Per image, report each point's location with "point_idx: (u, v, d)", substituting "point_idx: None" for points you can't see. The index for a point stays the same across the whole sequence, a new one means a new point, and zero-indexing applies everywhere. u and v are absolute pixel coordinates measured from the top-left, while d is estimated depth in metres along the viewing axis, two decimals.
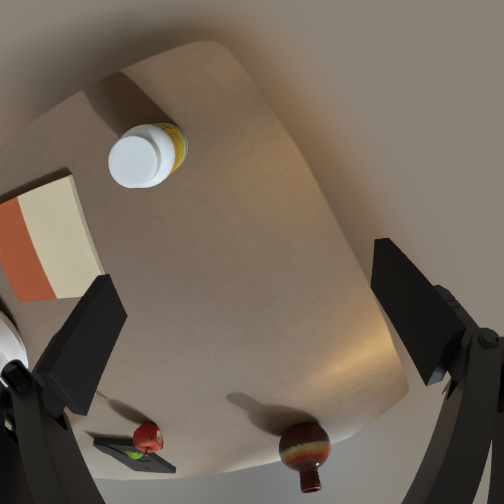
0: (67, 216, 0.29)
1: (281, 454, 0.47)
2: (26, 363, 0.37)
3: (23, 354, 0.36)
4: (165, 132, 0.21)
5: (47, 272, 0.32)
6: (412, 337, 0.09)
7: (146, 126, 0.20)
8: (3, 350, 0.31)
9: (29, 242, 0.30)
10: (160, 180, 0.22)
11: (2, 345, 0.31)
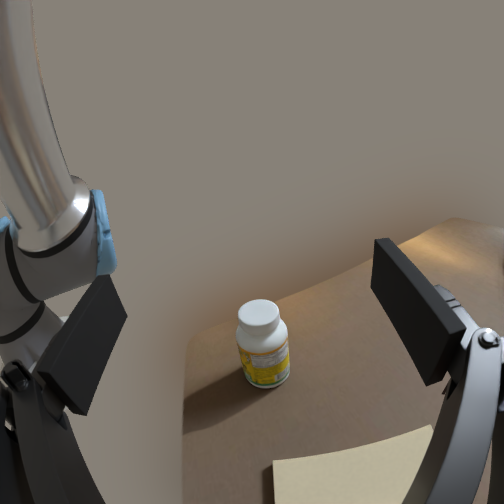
0: (325, 471, 0.19)
1: None
2: None
3: None
4: None
5: None
6: (412, 337, 0.09)
7: (238, 326, 0.29)
8: None
9: None
10: None
11: None
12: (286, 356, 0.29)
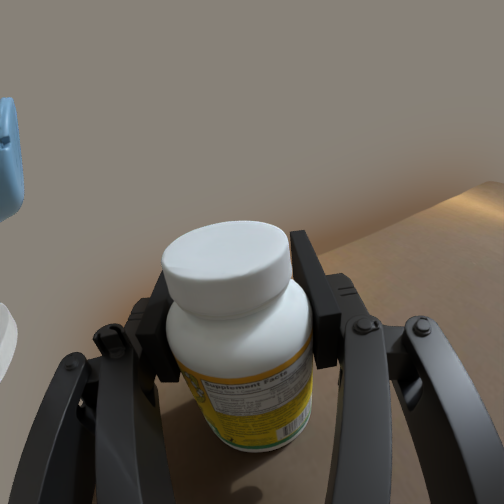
0: None
1: None
2: None
3: None
4: None
5: None
6: None
7: None
8: None
9: None
10: None
11: None
12: (308, 381, 0.10)
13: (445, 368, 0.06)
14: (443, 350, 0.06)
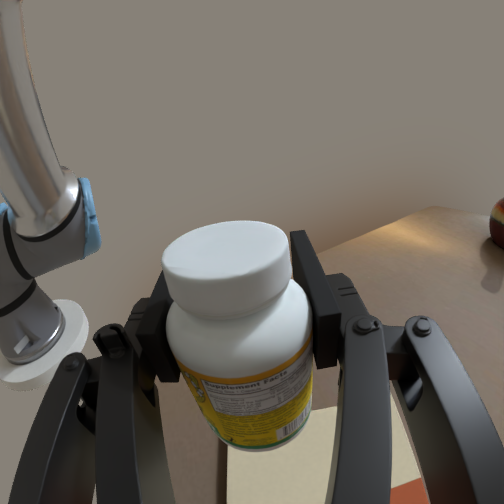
0: None
1: None
2: None
3: None
4: None
5: None
6: None
7: None
8: None
9: None
10: None
11: None
12: (308, 381, 0.10)
13: (445, 368, 0.06)
14: (443, 350, 0.06)
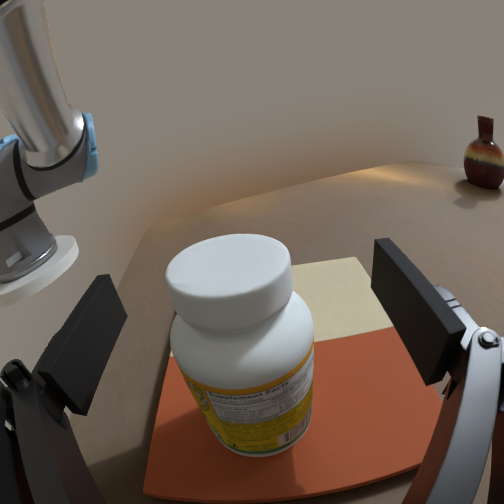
0: None
1: (495, 162, 0.39)
2: None
3: None
4: None
5: (339, 332, 0.18)
6: (412, 337, 0.09)
7: None
8: None
9: None
10: (296, 294, 0.11)
11: None
12: (309, 389, 0.10)
13: None
14: None
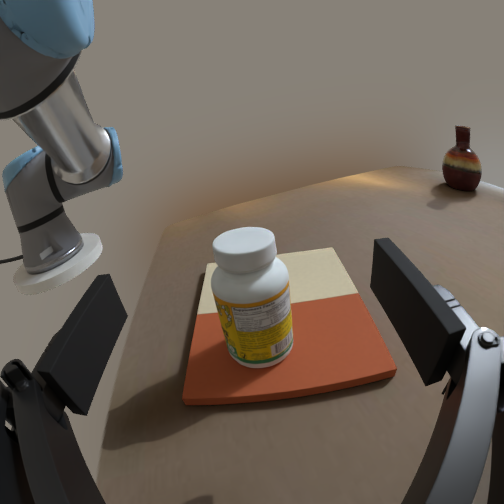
0: None
1: (470, 167, 0.48)
2: None
3: None
4: None
5: (314, 296, 0.27)
6: (412, 337, 0.09)
7: None
8: None
9: None
10: (280, 260, 0.20)
11: None
12: (288, 315, 0.19)
13: None
14: None
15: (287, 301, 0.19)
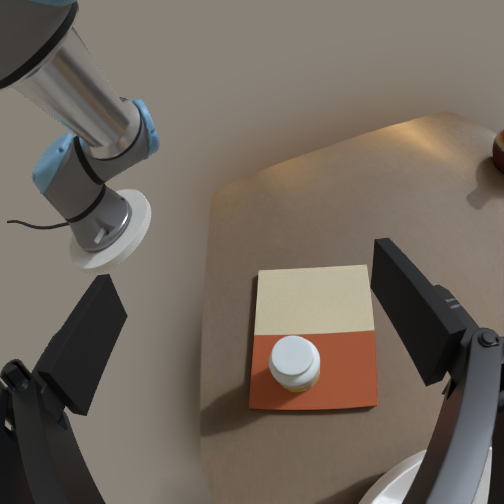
0: (289, 280, 0.41)
1: None
2: None
3: None
4: None
5: (341, 329, 0.35)
6: (412, 337, 0.09)
7: (271, 352, 0.28)
8: (410, 466, 0.18)
9: None
10: (316, 349, 0.28)
11: (403, 469, 0.18)
12: (316, 377, 0.29)
13: None
14: None
15: (316, 375, 0.28)
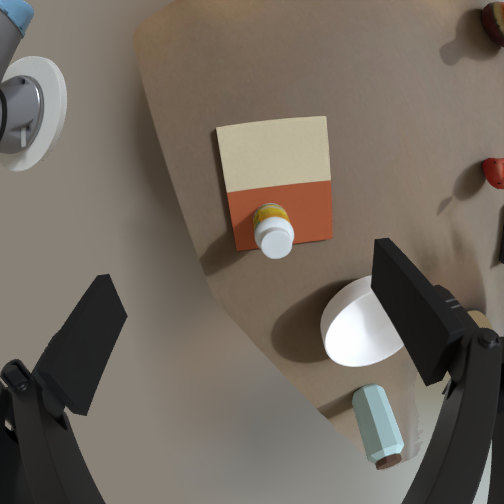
0: (250, 136, 0.39)
1: None
2: None
3: None
4: (261, 221, 0.38)
5: (302, 180, 0.42)
6: (412, 337, 0.09)
7: (256, 233, 0.38)
8: (356, 297, 0.44)
9: (270, 190, 0.43)
10: (290, 227, 0.38)
11: (352, 298, 0.44)
12: None
13: None
14: None
15: None
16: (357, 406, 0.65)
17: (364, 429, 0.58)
